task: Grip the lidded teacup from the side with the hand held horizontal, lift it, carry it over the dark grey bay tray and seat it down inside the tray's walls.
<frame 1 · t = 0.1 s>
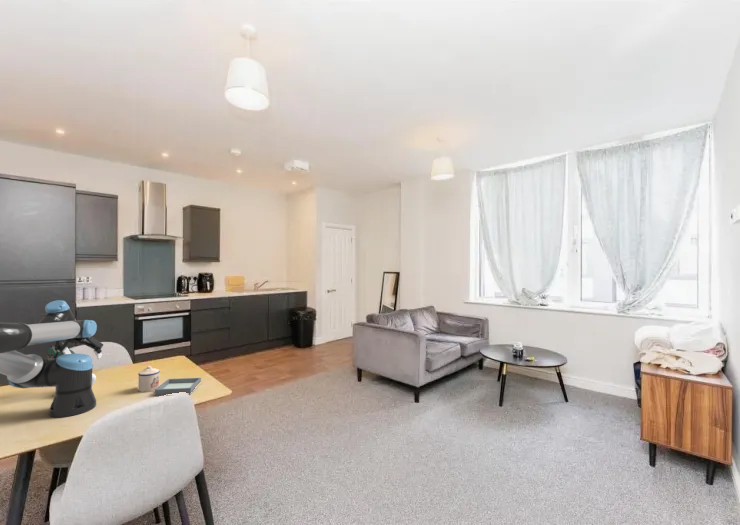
hand: (85, 357, 168), 15 cm above the table, tool tilted 35°, fingers open, 13 cm apart
bay tray: (179, 389, 167), on the table
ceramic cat: (64, 379, 179), on the table
teacup with lid: (150, 388, 168), on the table
pretzel: (77, 392, 161), on the table
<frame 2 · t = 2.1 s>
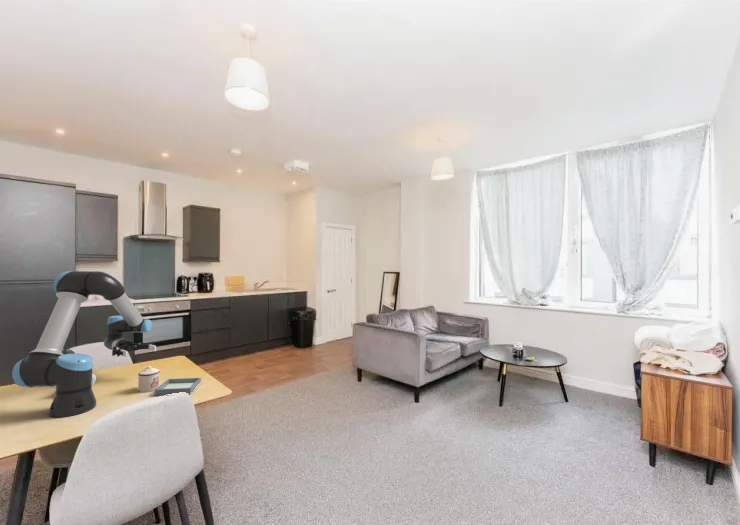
hand: (141, 351, 173), 17 cm above the table, tool horizontal, fingers open, 13 cm apart
nothing on the table moved.
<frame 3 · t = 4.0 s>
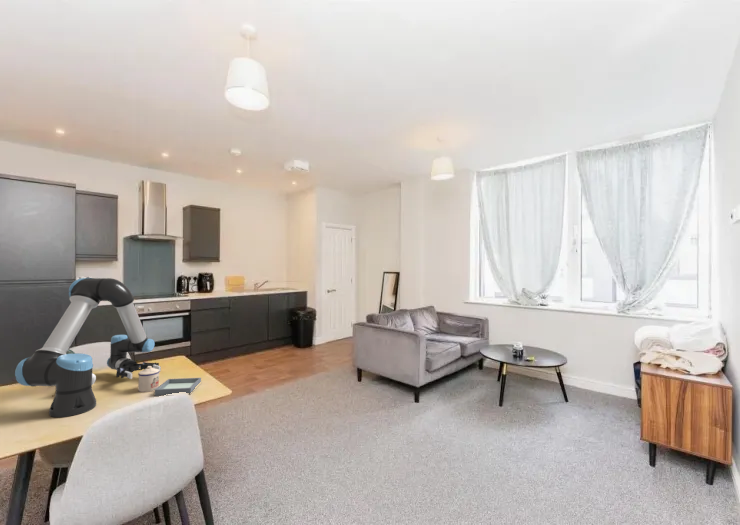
hand: (146, 372, 171), 7 cm above the table, tool horizontal, fingers open, 13 cm apart
nothing on the table moved.
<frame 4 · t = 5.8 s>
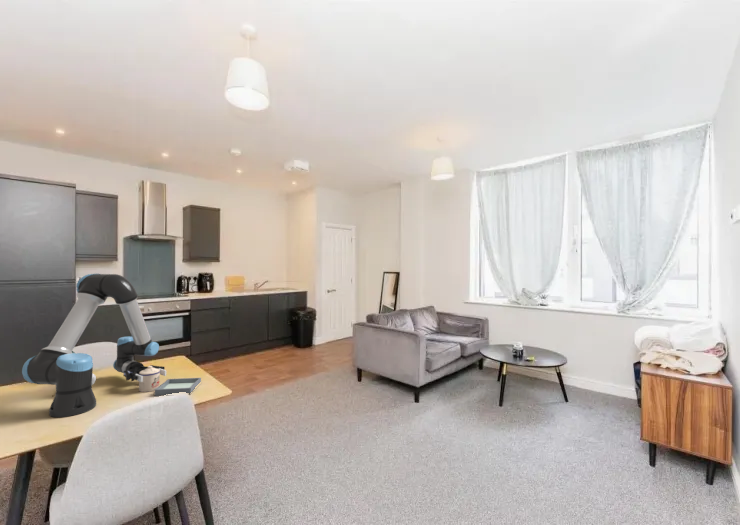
hand: (154, 376, 165), 7 cm above the table, tool horizontal, fingers open, 10 cm apart
teacup with lid: (150, 388, 168), on the table, touching gripper
everything else where it was.
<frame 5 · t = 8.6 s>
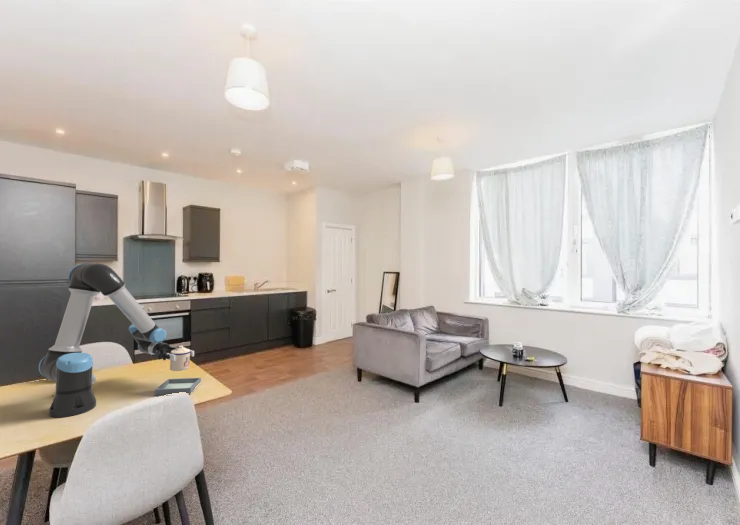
hand: (184, 355, 166), 17 cm above the table, tool horizontal, fingers closed on teacup with lid, 9 cm apart
teacup with lid: (180, 368, 169), point 10 cm above the table, touching gripper
everything else where it was.
when the fingers open (9 cm above the table, at t = 10.9 s): teacup with lid drops 1 cm, resting on bay tray.
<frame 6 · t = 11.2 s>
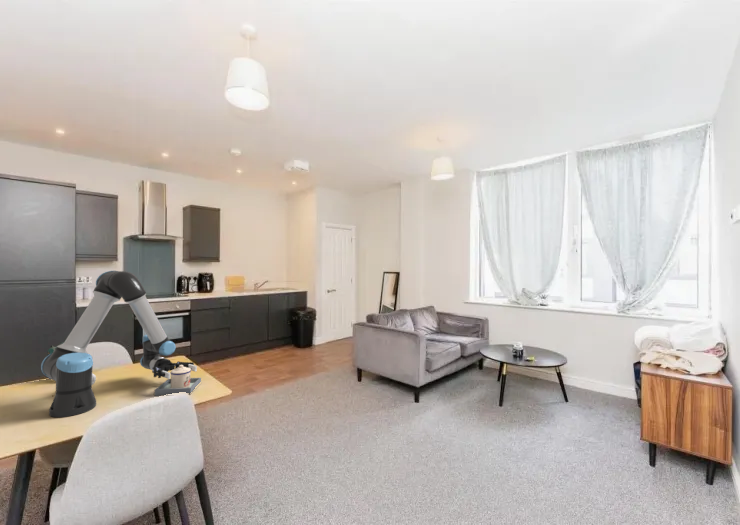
hand: (183, 372, 165), 9 cm above the table, tool horizontal, fingers open, 13 cm apart
teacup with lid: (181, 387, 168), point 1 cm above the table, touching bay tray
everything else where it was.
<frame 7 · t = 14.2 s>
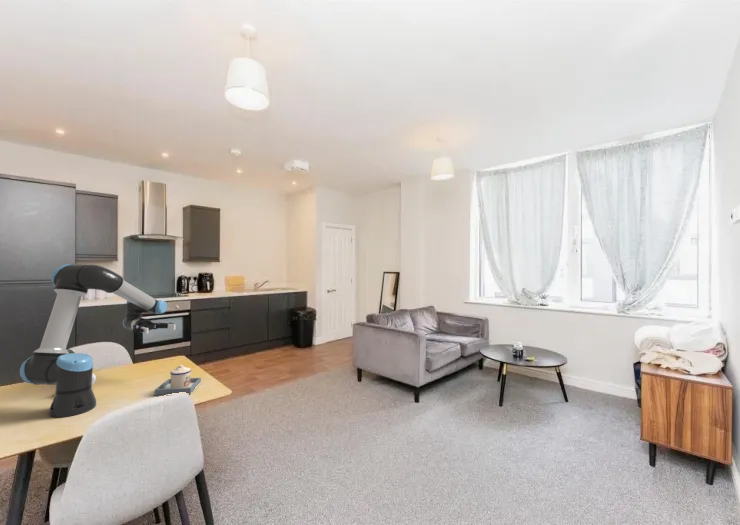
hand: (161, 329, 173), 29 cm above the table, tool horizontal, fingers open, 13 cm apart
nothing on the table moved.
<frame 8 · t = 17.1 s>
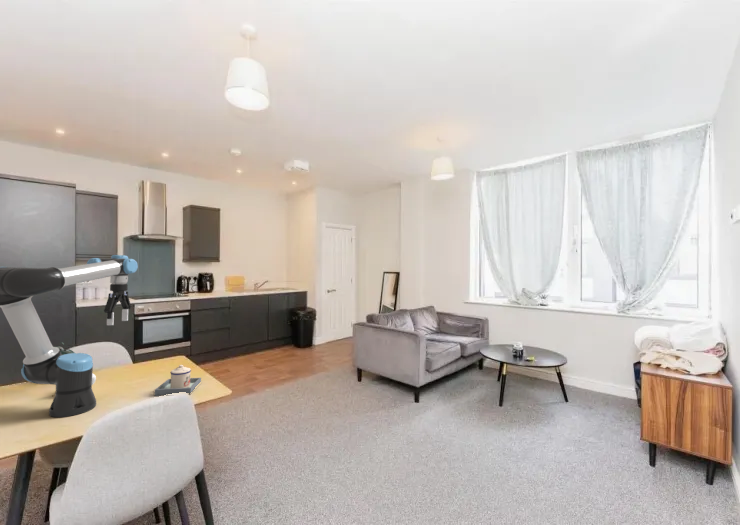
hand: (117, 322, 176), 32 cm above the table, tool pointing down, fingers open, 13 cm apart
nothing on the table moved.
at the end: teacup with lid inside the target area on the bay tray (1.1 cm from its centre), point 0.6 cm above the bay tray's base; teacup with lid tilted 0°; the gripper is holding nothing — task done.
